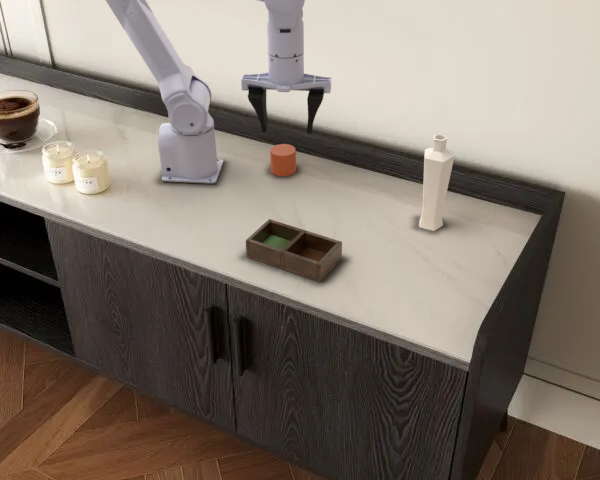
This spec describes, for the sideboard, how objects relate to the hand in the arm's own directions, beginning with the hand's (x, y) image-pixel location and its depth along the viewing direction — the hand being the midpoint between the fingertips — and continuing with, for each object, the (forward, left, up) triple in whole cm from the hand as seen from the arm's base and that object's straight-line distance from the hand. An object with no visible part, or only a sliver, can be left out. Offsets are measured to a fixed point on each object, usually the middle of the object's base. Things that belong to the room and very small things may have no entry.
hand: (287, 130), depth 129 cm
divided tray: (+4, -26, -8) cm, 27 cm away
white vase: (+24, -15, -8) cm, 29 cm away
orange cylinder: (-1, 0, -8) cm, 8 cm away
